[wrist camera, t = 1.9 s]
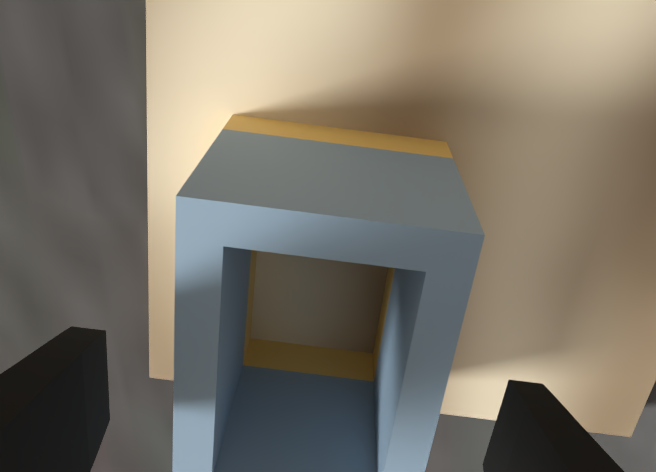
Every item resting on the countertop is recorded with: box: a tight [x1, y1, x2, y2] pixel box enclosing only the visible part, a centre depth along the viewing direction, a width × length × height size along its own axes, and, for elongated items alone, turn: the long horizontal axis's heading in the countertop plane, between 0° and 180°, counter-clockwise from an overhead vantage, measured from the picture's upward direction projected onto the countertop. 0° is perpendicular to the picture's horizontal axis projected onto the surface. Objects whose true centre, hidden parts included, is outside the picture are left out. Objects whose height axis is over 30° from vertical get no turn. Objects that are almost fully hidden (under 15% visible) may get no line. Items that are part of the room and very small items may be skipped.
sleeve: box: [173, 114, 485, 472], centre depth 14 cm, size 5×7×5 cm
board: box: [146, 0, 656, 437], centre depth 13 cm, size 14×20×5 cm
